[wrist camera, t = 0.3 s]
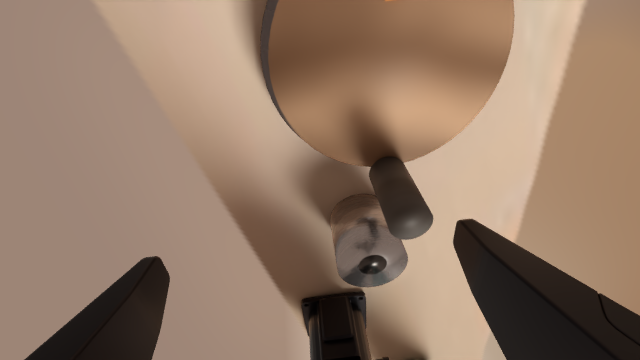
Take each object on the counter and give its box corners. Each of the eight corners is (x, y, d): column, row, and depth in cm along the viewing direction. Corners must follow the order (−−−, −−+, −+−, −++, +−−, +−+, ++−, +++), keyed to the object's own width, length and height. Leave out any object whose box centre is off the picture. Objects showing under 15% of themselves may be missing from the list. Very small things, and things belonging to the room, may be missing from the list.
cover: (388, 235, 28) (405, 283, 24) (332, 242, 28) (339, 291, 24) (390, 190, 25) (410, 235, 21) (327, 197, 25) (335, 244, 21)
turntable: (471, 166, 23) (524, 225, 17) (292, 187, 22) (292, 253, 17) (531, -108, 14) (666, -149, 9) (244, -76, 14) (219, -98, 9)
